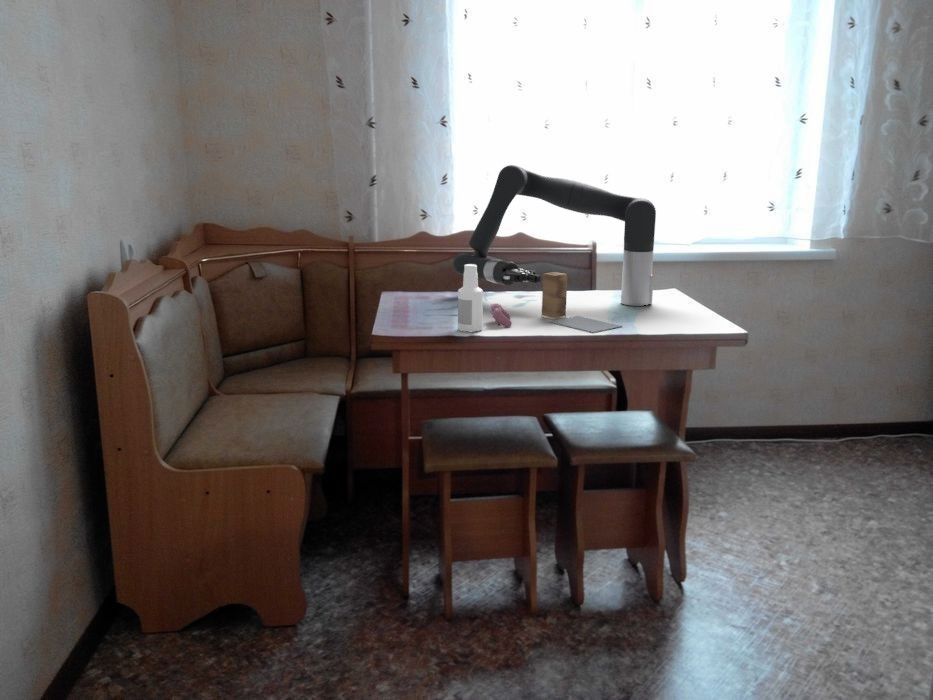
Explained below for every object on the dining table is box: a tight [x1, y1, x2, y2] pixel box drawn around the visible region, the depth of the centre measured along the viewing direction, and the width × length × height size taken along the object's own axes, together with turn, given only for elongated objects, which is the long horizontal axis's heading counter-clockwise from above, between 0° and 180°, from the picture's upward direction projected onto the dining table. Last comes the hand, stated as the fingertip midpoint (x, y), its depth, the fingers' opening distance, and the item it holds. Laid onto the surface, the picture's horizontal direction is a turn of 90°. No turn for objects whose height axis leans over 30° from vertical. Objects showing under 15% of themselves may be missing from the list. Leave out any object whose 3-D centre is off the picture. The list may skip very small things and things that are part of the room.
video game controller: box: [489, 303, 512, 328], centre depth 226 cm, size 10×5×7 cm, turn 179°
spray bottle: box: [457, 264, 484, 332], centre depth 217 cm, size 7×7×18 cm
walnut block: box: [541, 271, 568, 321], centre depth 234 cm, size 5×5×13 cm
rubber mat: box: [548, 315, 623, 333], centre depth 226 cm, size 17×12×1 cm
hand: (539, 279), depth 238 cm, fingers closed
